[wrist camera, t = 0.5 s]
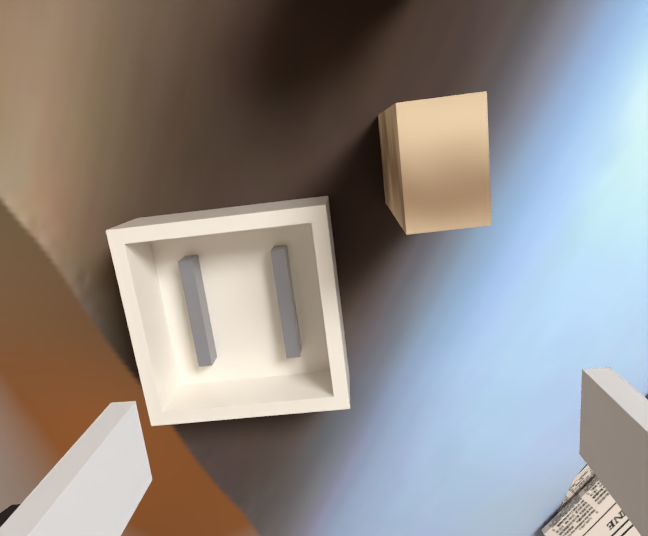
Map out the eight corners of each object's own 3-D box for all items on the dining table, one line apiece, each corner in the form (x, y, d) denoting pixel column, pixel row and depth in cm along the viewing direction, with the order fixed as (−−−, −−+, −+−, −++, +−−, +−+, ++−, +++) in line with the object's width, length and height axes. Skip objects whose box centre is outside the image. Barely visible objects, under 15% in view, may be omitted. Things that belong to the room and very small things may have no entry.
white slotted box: (137, 218, 36) (105, 230, 31) (328, 195, 35) (325, 204, 30) (174, 391, 40) (151, 426, 35) (349, 374, 39) (350, 408, 34)
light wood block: (377, 115, 34) (395, 103, 22) (436, 108, 33) (486, 91, 22) (385, 203, 35) (406, 234, 24) (442, 196, 35) (491, 225, 23)
